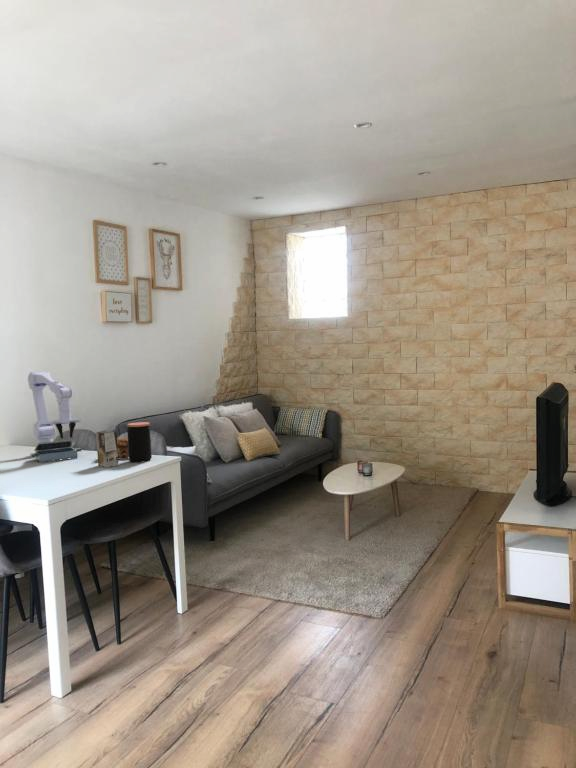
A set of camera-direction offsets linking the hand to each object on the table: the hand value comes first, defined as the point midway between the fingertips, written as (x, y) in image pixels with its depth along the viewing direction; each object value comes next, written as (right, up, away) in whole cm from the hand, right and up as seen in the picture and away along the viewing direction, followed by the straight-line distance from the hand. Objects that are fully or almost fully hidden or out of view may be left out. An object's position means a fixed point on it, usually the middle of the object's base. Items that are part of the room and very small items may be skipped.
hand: (66, 437), depth 321 cm
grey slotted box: (-5, -11, +1) cm, 12 cm away
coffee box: (+29, -11, -26) cm, 40 cm away
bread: (+30, -10, -4) cm, 32 cm away
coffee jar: (+41, -10, -16) cm, 45 cm away
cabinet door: (-6, -4, +1) cm, 7 cm away
